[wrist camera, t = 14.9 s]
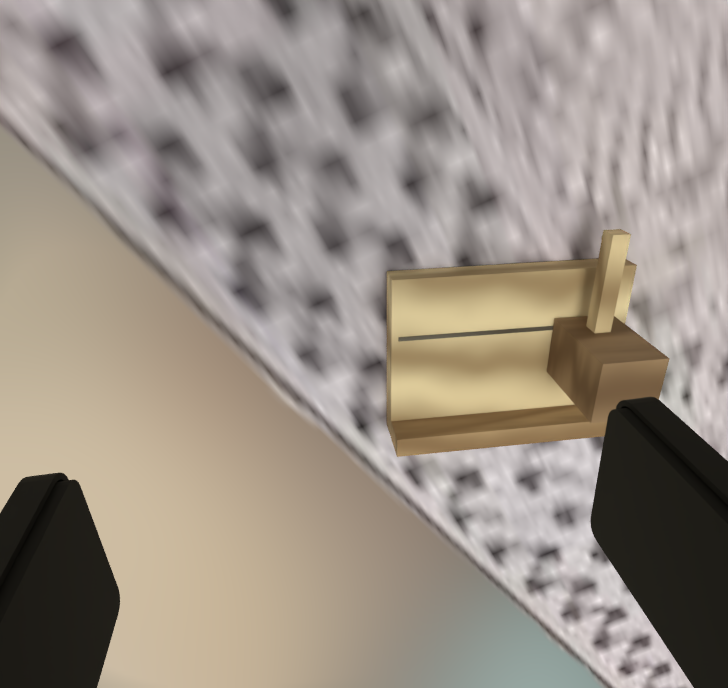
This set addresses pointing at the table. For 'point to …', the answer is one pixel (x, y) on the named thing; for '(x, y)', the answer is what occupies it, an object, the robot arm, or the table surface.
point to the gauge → (604, 345)
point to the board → (484, 354)
